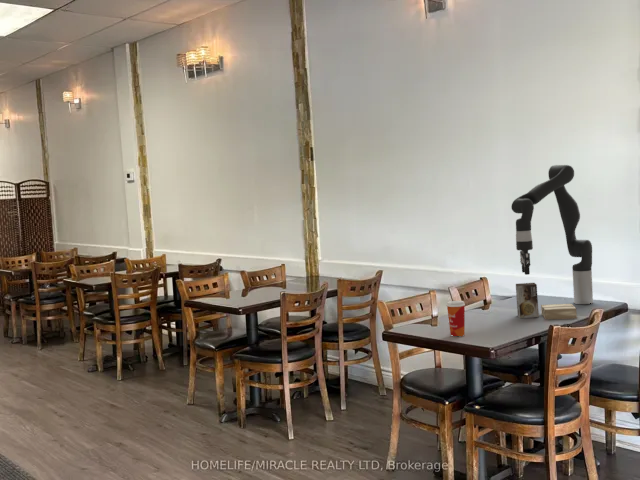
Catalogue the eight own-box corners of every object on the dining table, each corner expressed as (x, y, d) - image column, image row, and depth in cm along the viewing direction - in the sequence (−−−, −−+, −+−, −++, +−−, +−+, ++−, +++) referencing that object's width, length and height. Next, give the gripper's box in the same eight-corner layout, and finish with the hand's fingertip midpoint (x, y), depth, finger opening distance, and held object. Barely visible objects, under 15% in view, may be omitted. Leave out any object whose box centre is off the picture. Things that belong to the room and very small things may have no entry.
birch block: (541, 314, 326) (541, 304, 326) (571, 313, 324) (570, 303, 323) (545, 320, 314) (545, 309, 313) (576, 319, 311) (576, 308, 311)
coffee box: (536, 314, 326) (534, 282, 324) (539, 317, 319) (537, 284, 318) (517, 315, 326) (515, 283, 325) (519, 318, 320) (517, 285, 319)
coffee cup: (445, 334, 298) (443, 301, 297) (463, 332, 298) (461, 299, 297) (451, 338, 289) (449, 304, 288) (469, 336, 290) (467, 302, 289)
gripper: (534, 240, 313) (536, 274, 314) (529, 238, 327) (531, 271, 328) (518, 241, 314) (519, 275, 315) (514, 239, 328) (515, 271, 329)
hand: (525, 273), depth 321 cm, fingers open, 8 cm apart
